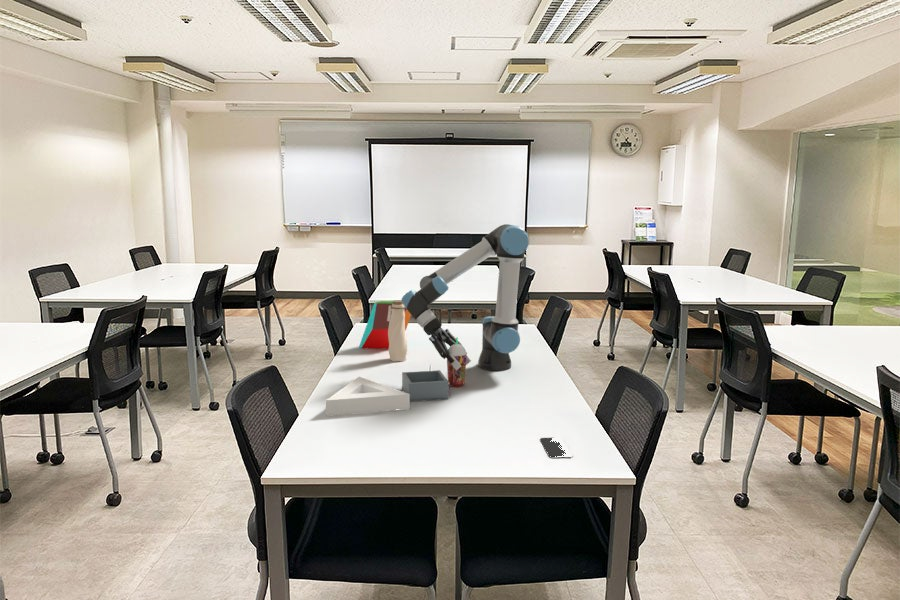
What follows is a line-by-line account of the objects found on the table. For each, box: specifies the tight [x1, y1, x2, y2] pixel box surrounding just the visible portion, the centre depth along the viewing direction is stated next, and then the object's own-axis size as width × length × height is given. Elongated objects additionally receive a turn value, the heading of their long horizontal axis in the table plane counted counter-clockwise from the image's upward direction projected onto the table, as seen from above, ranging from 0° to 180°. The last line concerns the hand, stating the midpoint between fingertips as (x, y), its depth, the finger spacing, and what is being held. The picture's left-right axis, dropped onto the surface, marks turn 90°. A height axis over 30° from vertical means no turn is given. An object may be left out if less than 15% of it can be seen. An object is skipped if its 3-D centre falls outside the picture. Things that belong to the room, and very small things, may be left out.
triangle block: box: [325, 376, 410, 417], centre depth 239 cm, size 30×26×6 cm
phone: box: [539, 437, 566, 457], centre depth 197 cm, size 7×1×15 cm
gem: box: [358, 300, 412, 349], centre depth 319 cm, size 15×29×24 cm, turn 93°
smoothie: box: [446, 336, 468, 388], centre depth 258 cm, size 8×8×20 cm
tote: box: [401, 369, 450, 402], centre depth 247 cm, size 15×15×7 cm
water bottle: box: [387, 299, 408, 362], centre depth 296 cm, size 10×9×28 cm
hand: (463, 365), depth 257 cm, fingers closed on smoothie, 8 cm apart
